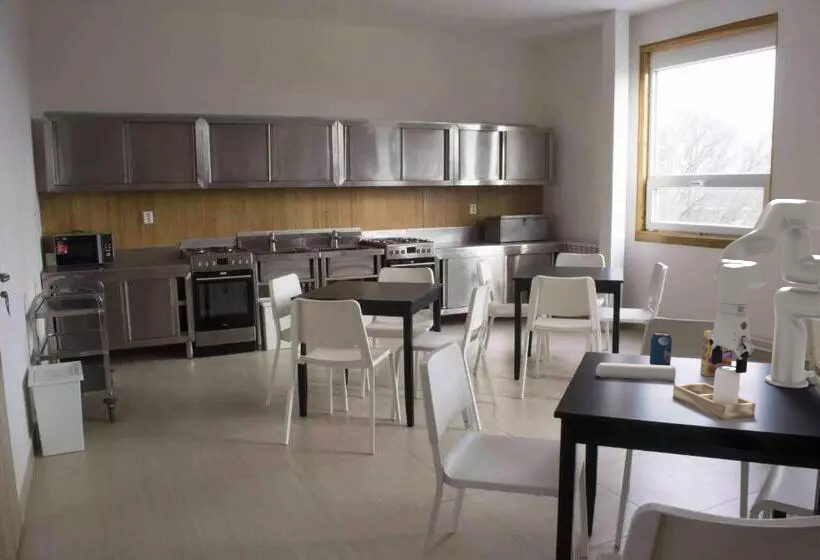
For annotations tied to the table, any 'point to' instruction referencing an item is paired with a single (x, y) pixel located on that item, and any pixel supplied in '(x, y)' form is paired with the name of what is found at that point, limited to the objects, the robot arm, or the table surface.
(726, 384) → the can
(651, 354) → the soda can
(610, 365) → the tube
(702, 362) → the candy box
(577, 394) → the table surface
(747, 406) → the slot rack
